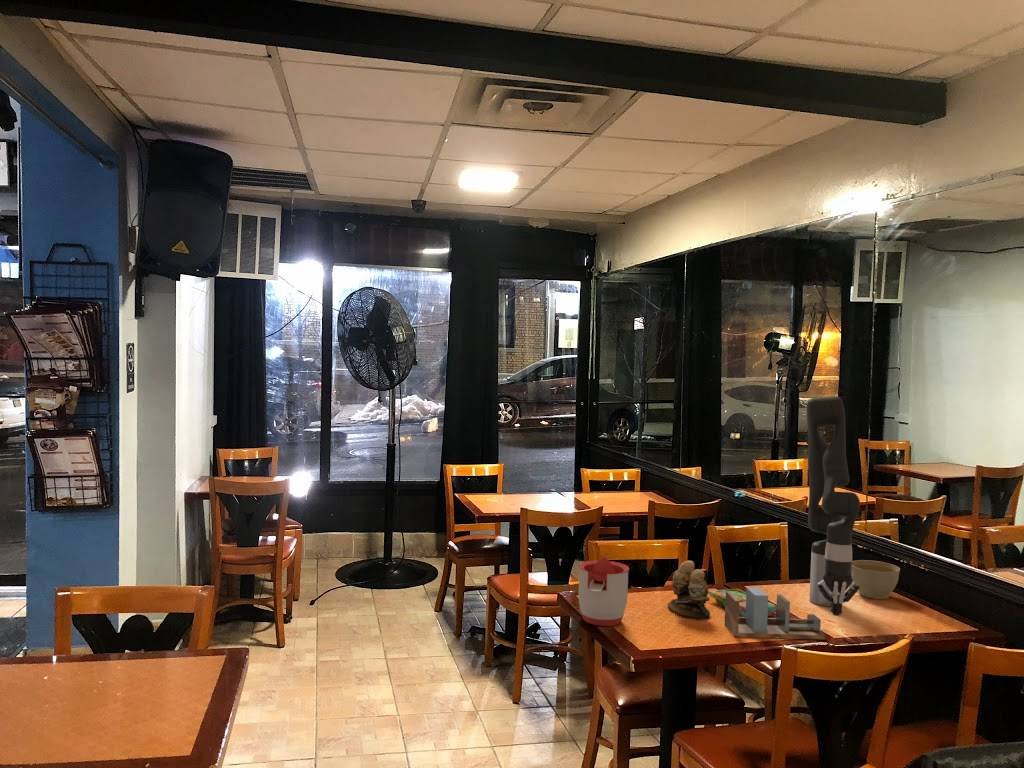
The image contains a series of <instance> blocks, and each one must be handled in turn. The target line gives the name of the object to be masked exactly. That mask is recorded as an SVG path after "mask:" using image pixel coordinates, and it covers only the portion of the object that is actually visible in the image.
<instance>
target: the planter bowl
mask: <svg viewBox="0 0 1024 768" xmlns="http://www.w3.org/2000/svg"><path fill="white" fill-rule="evenodd" d="M900 573H901V568H900V567H899V566H897V565H894V564H891V563H887V562H883V561H878V560H869V559H868V560H866V559H865V560H864V559H861V560H860V559H859V560H852V572H851V578H852V582H853V583H854V584H856V585H857V586H859V590H858V593H859V595H861V596H862V597H864V596H865V598H867V599H871V598H873V599H874V600H886V599H889V596H890V594H891V593H892V592H893V591H894V589H895V588H896V586H897V584H898V581H899V578H900V577H899V575H900Z"/></svg>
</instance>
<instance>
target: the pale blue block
mask: <svg viewBox="0 0 1024 768" xmlns="http://www.w3.org/2000/svg"><path fill="white" fill-rule="evenodd" d="M745 592H746V617H745V623H746V624H747V625H748V627H749V628H750V629H751V630H752V631H753V632H767V618H769V617H768V602H769V595H768V594H767V593H766V592H765V591H764V590H763V589H762V588H760V587H746V591H745Z"/></svg>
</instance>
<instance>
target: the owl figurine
mask: <svg viewBox="0 0 1024 768" xmlns="http://www.w3.org/2000/svg"><path fill="white" fill-rule="evenodd" d="M695 565H696V564H695V562H694V561H693V560H686V561H683V562H682V563H681V564H680V566H679V567H678V569H677V570H675V571H674V572H673V576H672V580H671V581H672V582H671V585H672V592H673V594H674V595H676V597H677V598H674V599H671V600H670V601H669V602H668V603H667V610H668V611H669V612H671V611H672V612H673V613H672V612H671V613H672V614H674V613H675V614H674V615H676V614H677V615H676V616H678V615H679V617H680V616H681V617H680V618H684V619H687V620H696V621H698V620H701V619H706V620H707V619H710V617H711V611H710V610H709V609H708V608H707V607H706V603H707V602H709V601H710V597H709V596H708V595H709V586H708V585H707V582H706V581H705V576H706V573H705V572H704V571H703V570H701V569H698V568H697V569H695Z"/></svg>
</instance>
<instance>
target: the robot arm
mask: <svg viewBox="0 0 1024 768" xmlns="http://www.w3.org/2000/svg"><path fill="white" fill-rule="evenodd" d="M806 420H807V421H806V422H807V433H808V458H807V460H808V463H807V465H808V467H807V469H808V486H809V487H808V491H809V493H808V494H809V495H808V512H807V523H808V528H809V530H810V531H811V532H814V533H821V534H826V539H824V540H818V541H814V542H812V543H811V549H810V550H811V554H810V556H811V557H810V558H811V559H810V574H809V575H810V577H809V602H810V603H812V604H815V605H819V606H823V607H830V613H831V614H832V616H834V617H835V616H836V617H838V616H839V617H841V615H842V613H843V604H844V603H848V602H849V601H850V600H851V599H852V598H853V597H854V596H855V594H856V593H857V592H859V586H857V585H856V584H854V582H853V579H852V576H851V572H852V561H853V546H852V545H853V531H854V527H855V523H856V520H857V517H858V514H859V513H860V508H861V501H860V498H859V496H858V495H857V494H856V493H855V492H851V491H850V492H849V491H836V490H835V489H837V488H843V487H846V486H848V484H849V483H850V473H849V466H848V461H847V453H846V452H847V449H846V448H847V446H846V444H847V443H846V442H847V440H846V439H847V437H846V436H847V435H846V431H847V430H846V414H845V406H844V401H843V400H842V398H841V397H840V396H820V397H819V396H818V397H810V398H809V399H808V400H807V403H806ZM820 426H822V427H823V426H824V427H825V426H834V433H833V436H832V439H830V442H829V444H828V443H827V441H826V440H825V439H824V437H823V436H822V434H821V432H820V430H819V427H820ZM820 502H821V505H820Z"/></svg>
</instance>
